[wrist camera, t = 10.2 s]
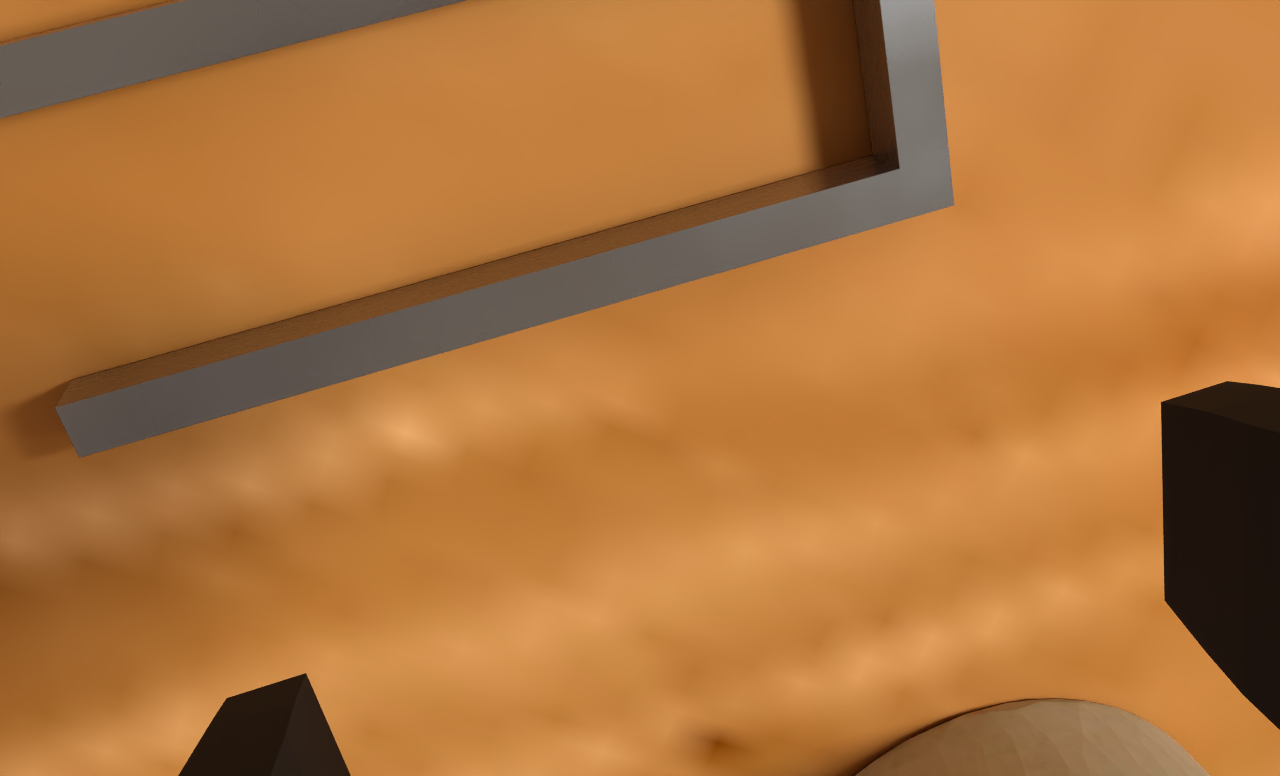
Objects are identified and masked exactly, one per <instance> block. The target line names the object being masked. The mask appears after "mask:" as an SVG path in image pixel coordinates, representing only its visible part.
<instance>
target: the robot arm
mask: <svg viewBox="0 0 1280 776" xmlns="http://www.w3.org/2000/svg"><path fill="white" fill-rule="evenodd" d="M1161 423H1162V479H1163V534H1164V589H1165V601H1166V603H1167V604H1168V605H1169V606H1170V608H1171V609H1172V610H1173V611H1174V613H1175V614H1176V615H1177V616H1178V618H1179V619H1180V620H1181V621H1182V623H1183V624H1184V625H1185V626H1186V628H1187V629H1188V630H1189V631H1190V633H1191V634H1192V635H1193V636H1194V638H1195V639H1196V640H1197V641H1198V643H1199V644H1200V645H1201V646H1202V648H1203V649H1204V650H1205V651H1206V652H1207V654H1208V655H1209V656H1210V657H1211V658H1212V659H1213V661H1214V662H1215V663H1216V664H1217V665H1218V666H1219V667H1220V669H1221V670H1222V671H1223V672H1224V673H1225V674H1226V676H1227V677H1228V678H1229V679H1230V680H1231V681H1232V682H1233V684H1234V685H1235V686H1236V687H1237V688H1238V689H1239V691H1240V692H1241V693H1242V694H1243V695H1244V696H1245V697H1246V698H1247V699H1248V700H1249V701H1250V702H1251V703H1252V704H1253V705H1254V706H1255V707H1256V708H1257V709H1258V710H1260V711H1261V712H1262V713H1263V714H1264V715H1265V716H1266V717H1267V718H1268V719H1269V720H1270V721H1271V722H1272V723H1273V724H1274V725H1275V726H1276V727H1277V728H1279V729H1280V388H1275V387H1269V386H1262V385H1255V384H1247V383H1238V382H1229V381H1226V382H1223V383H1220V384H1217V385H1214V386H1211V387H1207V388H1204V389H1201V390H1198V391H1195V392H1192V393H1189V394H1185V395H1182V396H1179V397H1176V398H1173V399H1170V400H1166V401H1163V402H1161ZM179 776H350V773H349V771H348V769H347V766H346V764H345V762H344V760H343V757H342V755H341V753H340V750H339V748H338V746H337V743H336V741H335V739H334V737H333V734H332V732H331V730H330V727H329V725H328V723H327V720H326V718H325V716H324V714H323V711H322V709H321V707H320V704H319V702H318V700H317V697H316V695H315V693H314V691H313V688H312V686H311V684H310V681H309V679H308V677H307V674H306V673H305V674H302V675H299V676H296V677H292V678H289V679H286V680H283V681H280V682H277V683H274V684H270V685H267V686H264V687H261V688H258V689H255V690H251V691H248V692H245V693H242V694H239V695H236V696H233V697H229V698H227V699H226V700H225V702H224V703H223V705H222V706H221V708H220V709H219V711H218V712H217V714H216V715H215V717H214V718H213V720H212V722H211V723H210V725H209V727H208V728H207V730H206V731H205V733H204V735H203V736H202V738H201V740H200V741H199V743H198V744H197V746H196V748H195V749H194V751H193V753H192V754H191V756H190V758H189V759H188V761H187V763H186V764H185V766H184V767H183V769H182V771H181V772H180V774H179Z"/></svg>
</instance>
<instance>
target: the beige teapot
mask: <svg viewBox="0 0 1280 776" xmlns="http://www.w3.org/2000/svg"><path fill="white" fill-rule="evenodd" d="M855 776H1210V775H1209V774H1208V773H1207V772H1206V771H1205V770H1204V769H1203V768H1202V767H1201V766H1200V765H1199V764H1198V763H1197V762H1196V761H1195V760H1194V759H1193V758H1192V757H1191V756H1190V755H1189V754H1188V753H1187V752H1186V751H1185V750H1184V749H1183V747H1182V746H1181V745H1179V744H1178V743H1177V742H1176V741H1175V740H1173V739H1172V738H1171V737H1170V736H1169V735H1167V734H1166V733H1165V732H1164V731H1163V730H1161V729H1159V728H1157V727H1156V726H1154V725H1152V724H1150V723H1149V722H1147V721H1145V720H1143V719H1142V718H1140V717H1138V716H1136V715H1135V714H1133V713H1130V712H1127V711H1124V710H1121V709H1119V708H1116V707H1113V706H1109V705H1104V704H1099V703H1094V702H1090V701H1083V700H1070V699H1039V700H1026V701H1019V702H1011V703H1004V704H1001V705H997V706H993V707H990V708H986V709H982V710H978V711H975V712H971V713H967V714H964V715H962V716H959V717H957V718H955V719H952V720H950V721H948V722H945V723H943V724H941V725H939V726H936V727H934V728H932V729H929V730H927V731H925V732H923V733H921V734H919V735H916V736H914V737H912V738H910V739H908V740H905V741H904V742H902V743H901V744H899V745H898V746H896V747H895V748H893V749H892V750H890V751H889V752H887V753H886V754H884V755H883V756H881V757H880V758H878V759H877V760H875V761H874V762H872V763H871V764H870V765H868V766H867V767H866V768H864V769H863V770H862V771H860V772H859V773H858V774H857V775H855Z"/></svg>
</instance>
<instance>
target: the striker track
mask: <svg viewBox="0 0 1280 776" xmlns="http://www.w3.org/2000/svg"><path fill="white" fill-rule="evenodd" d="M461 1H465V0H170V1H166V2H162V3H158V4H154V5H150V6H146V7H142V8H138V9H134V10H130V11H126V12H122V13H117V14H113V15H109V16H105V17H101V18H97V19H93V20H89V21H85V22H81V23H77V24H73V25H69V26H65V27H60V28H56V29H52V30H48V31H44V32H40V33H36V34H32V35H28V36H24V37H20V38H16V39H12V40H8V41H3V42H0V118H3V117H7V116H11V115H15V114H19V113H23V112H26V111H30V110H34V109H38V108H42V107H46V106H50V105H54V104H58V103H62V102H66V101H70V100H74V99H78V98H82V97H86V96H90V95H94V94H98V93H102V92H106V91H109V90H113V89H117V88H121V87H125V86H129V85H133V84H137V83H141V82H145V81H149V80H153V79H157V78H161V77H165V76H169V75H173V74H177V73H181V72H185V71H189V70H193V69H196V68H200V67H204V66H208V65H212V64H216V63H220V62H224V61H228V60H232V59H236V58H240V57H244V56H248V55H252V54H256V53H260V52H264V51H268V50H272V49H276V48H279V47H283V46H287V45H291V44H295V43H299V42H303V41H307V40H311V39H315V38H319V37H323V36H327V35H331V34H335V33H339V32H343V31H347V30H351V29H355V28H359V27H362V26H366V25H370V24H374V23H378V22H382V21H386V20H390V19H394V18H398V17H402V16H406V15H410V14H414V13H418V12H422V11H426V10H430V9H434V8H438V7H442V6H446V5H449V4H453V3H457V2H461ZM853 5H854V13H855V21H856V28H857V36H858V44H859V52H860V60H861V67H862V75H863V83H864V91H865V99H866V106H867V114H868V122H869V130H870V138H871V145H872V153H873V155H872V156H868V157H865V158H861V159H858V160H854V161H851V162H847V163H844V164H840V165H836V166H833V167H829V168H826V169H822V170H819V171H815V172H811V173H808V174H804V175H801V176H797V177H794V178H790V179H787V180H783V181H779V182H776V183H772V184H769V185H765V186H762V187H758V188H754V189H751V190H747V191H744V192H740V193H737V194H733V195H729V196H726V197H722V198H719V199H715V200H712V201H708V202H705V203H701V204H697V205H694V206H690V207H687V208H683V209H680V210H676V211H672V212H669V213H665V214H662V215H658V216H655V217H651V218H648V219H644V220H640V221H637V222H633V223H630V224H626V225H623V226H619V227H615V228H612V229H608V230H605V231H601V232H598V233H594V234H591V235H587V236H583V237H580V238H576V239H573V240H569V241H566V242H562V243H558V244H555V245H551V246H548V247H544V248H541V249H537V250H534V251H530V252H526V253H523V254H519V255H516V256H512V257H509V258H505V259H501V260H498V261H494V262H491V263H487V264H484V265H480V266H477V267H473V268H469V269H466V270H462V271H459V272H455V273H452V274H448V275H444V276H441V277H437V278H434V279H430V280H427V281H423V282H419V283H416V284H412V285H409V286H405V287H402V288H398V289H395V290H391V291H387V292H384V293H380V294H377V295H373V296H370V297H366V298H362V299H359V300H355V301H352V302H348V303H345V304H341V305H338V306H334V307H330V308H327V309H323V310H320V311H316V312H313V313H309V314H305V315H302V316H298V317H295V318H291V319H288V320H284V321H281V322H277V323H273V324H270V325H266V326H263V327H259V328H256V329H252V330H248V331H245V332H241V333H238V334H234V335H231V336H227V337H224V338H220V339H216V340H213V341H209V342H206V343H202V344H199V345H195V346H191V347H188V348H184V349H181V350H177V351H174V352H170V353H167V354H163V355H159V356H156V357H152V358H149V359H145V360H142V361H138V362H134V363H131V364H127V365H124V366H120V367H117V368H113V369H109V370H106V371H102V372H99V373H95V374H92V375H88V376H85V377H81V378H77V379H74V380H71V381H70V383H69V385H68V386H67V388H66V390H65V391H64V393H63V395H62V396H61V398H60V400H59V401H58V403H57V405H56V406H55V409H56V411H57V414H58V416H59V418H60V420H61V422H62V424H63V426H64V428H65V430H66V432H67V434H68V436H69V438H70V440H71V442H72V444H73V446H74V448H75V450H76V452H77V454H78V456H79V458H80V457H83V456H87V455H90V454H94V453H97V452H100V451H104V450H107V449H111V448H114V447H118V446H121V445H125V444H128V443H132V442H135V441H139V440H142V439H146V438H149V437H152V436H156V435H159V434H163V433H166V432H170V431H173V430H177V429H180V428H184V427H187V426H191V425H194V424H198V423H201V422H204V421H208V420H211V419H215V418H218V417H222V416H225V415H229V414H232V413H236V412H239V411H243V410H246V409H250V408H253V407H256V406H260V405H263V404H267V403H270V402H274V401H277V400H281V399H284V398H288V397H291V396H295V395H298V394H301V393H305V392H308V391H312V390H315V389H319V388H322V387H326V386H329V385H333V384H336V383H340V382H343V381H347V380H350V379H353V378H357V377H360V376H364V375H367V374H371V373H374V372H378V371H381V370H385V369H388V368H392V367H395V366H399V365H402V364H405V363H409V362H412V361H416V360H419V359H423V358H426V357H430V356H433V355H437V354H440V353H444V352H447V351H451V350H454V349H457V348H461V347H464V346H468V345H471V344H475V343H478V342H482V341H485V340H489V339H492V338H496V337H499V336H503V335H506V334H509V333H513V332H516V331H520V330H523V329H527V328H530V327H534V326H537V325H541V324H544V323H548V322H551V321H555V320H558V319H561V318H565V317H568V316H572V315H575V314H579V313H582V312H586V311H589V310H593V309H596V308H600V307H603V306H606V305H610V304H613V303H617V302H620V301H624V300H627V299H631V298H634V297H638V296H641V295H645V294H648V293H652V292H655V291H658V290H662V289H665V288H669V287H672V286H676V285H679V284H683V283H686V282H690V281H693V280H697V279H700V278H704V277H707V276H710V275H714V274H717V273H721V272H724V271H728V270H731V269H735V268H738V267H742V266H745V265H749V264H752V263H756V262H759V261H762V260H766V259H769V258H773V257H776V256H780V255H783V254H787V253H790V252H794V251H797V250H801V249H804V248H808V247H811V246H814V245H818V244H821V243H825V242H828V241H832V240H835V239H839V238H842V237H846V236H849V235H853V234H856V233H860V232H863V231H866V230H870V229H873V228H877V227H880V226H884V225H887V224H891V223H894V222H898V221H901V220H905V219H908V218H911V217H915V216H918V215H922V214H925V213H929V212H932V211H936V210H939V209H943V208H946V207H950V206H953V205H954V199H953V189H952V179H951V169H950V159H949V148H948V138H947V128H946V118H945V108H944V98H943V88H942V77H941V67H940V57H939V47H938V37H937V27H936V16H935V6H934V0H853Z"/></svg>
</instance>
